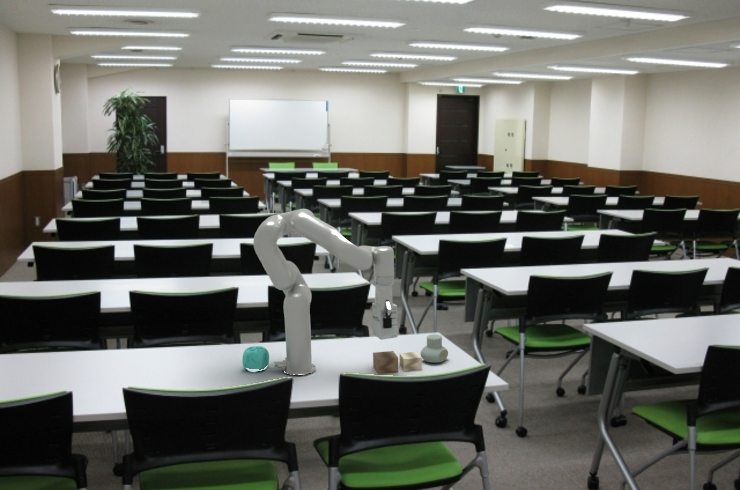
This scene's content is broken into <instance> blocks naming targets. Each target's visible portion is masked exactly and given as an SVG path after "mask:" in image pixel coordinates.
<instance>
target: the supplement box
mask: <svg viewBox="0 0 740 490" xmlns="http://www.w3.org/2000/svg"><path fill="white" fill-rule="evenodd" d="M371 305H372V307H371V308H372V310H371V311H372V315H371V316H372V335H373V336H374V337H376V338H378V339H379V340H381V341H382V340H389V339H394V338H398V336H399V335H398V304H396V303H393V308H392V310H391V315H392V328H385V329H384V328H383V318H384V314H383V311H380V307H379V306H378V305H377V304H376V303H375V302H372V303H371ZM385 305H386V304H385ZM384 310H387V307H386V306H385V308H384ZM385 314H386V312H385Z"/></svg>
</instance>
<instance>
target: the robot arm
mask: <svg viewBox="0 0 740 490" xmlns="http://www.w3.org/2000/svg"><path fill="white" fill-rule="evenodd" d="M295 233H296V234H298V235H299V236H301V237H303V238H305V239H306V240H307V241H308V240H309V241H310V242H312V243H314V244H316V245H318V246H319V247H321V248H323V249H325V250H326V251H327V252H328V253H329V254H331V255H333V256H335V258H337V259H338V260H340V261H341V262H343V263H345V264H347V265H348V266H351V267H352V268H354V269H356V270H359V271H365V270H368V269H370V268H371V266H373V284H374V285H375V289H374V290H375V291H374V293H375V294H374V303H376V304H377V305H378V306H379V307H380V311H383V314H384V318H383V328H384V329H385V328H392V315H391V310H392V308H393V304H394V303H393V299H394V298H393V285H394V284H395V265H394V264H395V255H394V254H395V253H394V248H393V247H391V246H387V245H383V246H382V245H381V246H371V245H359V246H357V244H354V243H352V242H351V241H349V240H348V239H347V238H345V236H343V235H342V233H341V232H340V231H339V229H337V228H335V227H334V226H333V225H330V224H329V223H327V222H326V221H325V222H324V221H323V220H321V219H319V218H317V217H316V216H315V215H314V213H313V212H312V211H311V210H310V209H307V208H299V209H295V210H291V211H286V212H282V213H277V214H274V215H270V216H269V217H267V218H266V219H265V220H263V221H262V222H261V224H260V225H258V228H257V230H256V232H255V234H254V237H253V248H254V251H255V254H256V255H257V257H258V259H259V262H260V263H261V264H262V267H263V268H264V271H265V272H266V274H267V276H268V277H269V279H270V282H271V283H272V285H273V287H275V289H277V290H279V291H282V292H283V294H284V296H285V297H284V300H283V314H284V316H283V317H284V331H285V349H286V350H285V353H286V355H285V358H284V359H282V360H281V361H277V360H276V361H274V367H278V369H282V371H283V370H284V371H285V372H286V373H288V374H291V375H293V374H295V375H298V374H308V373H311V374H313V373H314V371H315V372H316V369H317V367H316V365H315V364H313V361H312V360H313V359H312V333H311V314H310V308H311V306H310V305H311V302H312V291H311V289H310V287H309V286H308V283H307V282H306V280H305V278H304V277H303V275H302V273H301V272H300V269H299V268H298V266H297V265H296V264H295V263H294V262H292V261H291V260H287V259H286V257H285V255H284V254H283V251H282V250H281V249H280V248H279V246H278V240H279V239H281V237H283V236H287V235H292V234H295ZM385 304H386V305H385ZM385 306H386V307H387V310H384V308H385ZM385 312H386V314H385ZM312 372H313V373H312ZM291 375H290V376H291ZM308 375H309V374H308Z"/></svg>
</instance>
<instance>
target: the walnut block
mask: <svg viewBox="0 0 740 490" xmlns="http://www.w3.org/2000/svg"><path fill="white" fill-rule="evenodd" d="M372 366H373V369H374V371H375V372H376V373H378V374H377V375H385V374H393V373H394V374H395V373H399V357H398V355H397V354H396V353H395V351H394V350H388V351H376V352H375V351H374V352H372ZM380 373H381V374H380Z"/></svg>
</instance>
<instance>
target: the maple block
mask: <svg viewBox="0 0 740 490" xmlns="http://www.w3.org/2000/svg"><path fill="white" fill-rule="evenodd" d="M422 360H423V358H422V357H421V354H419V353H418V351H415V352H414V351H411V352H401V353H399V367H400V368H401V369H402V371H403V372H412V371H413V372H414V371H422V370H423V369H422V367H423V363H422Z"/></svg>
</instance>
